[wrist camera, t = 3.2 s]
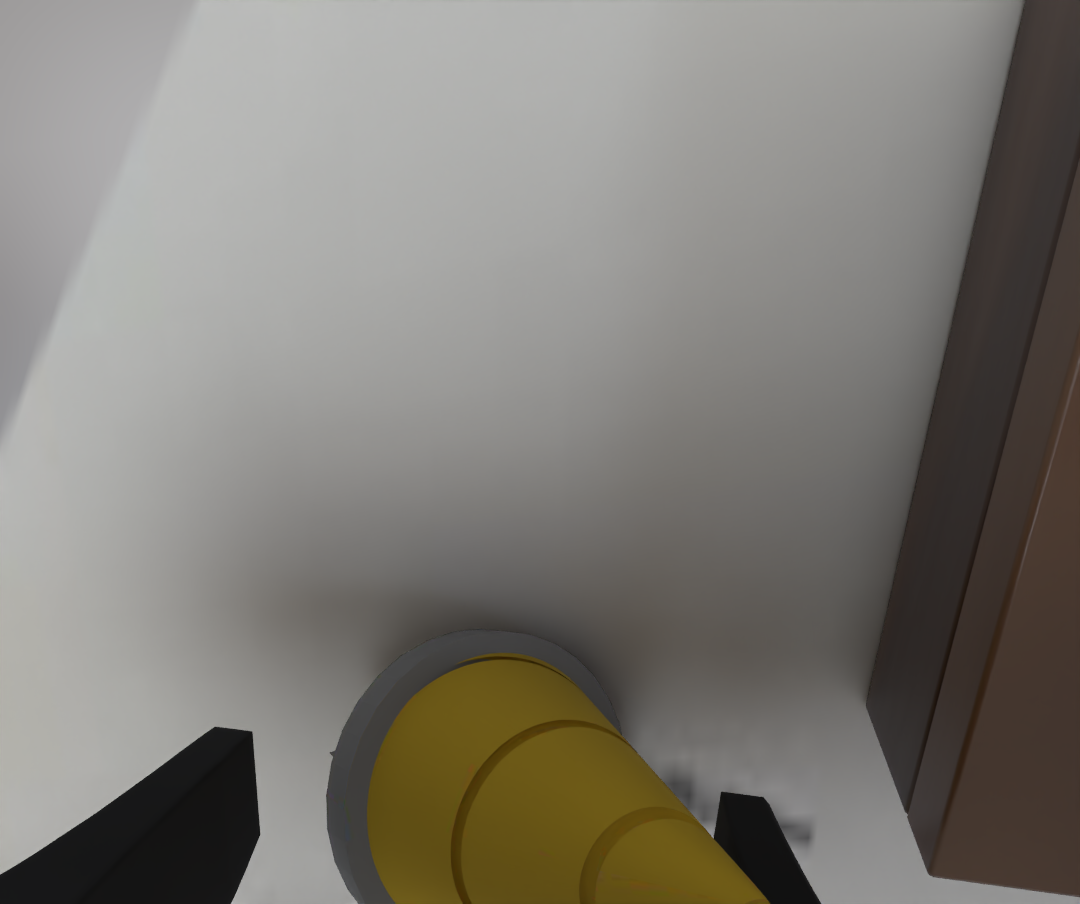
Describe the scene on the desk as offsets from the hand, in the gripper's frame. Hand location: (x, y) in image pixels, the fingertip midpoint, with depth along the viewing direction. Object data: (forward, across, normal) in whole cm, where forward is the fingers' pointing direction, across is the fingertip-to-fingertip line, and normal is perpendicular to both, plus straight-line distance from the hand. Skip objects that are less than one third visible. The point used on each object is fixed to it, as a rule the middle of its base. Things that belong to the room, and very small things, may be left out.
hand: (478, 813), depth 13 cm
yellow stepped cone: (+4, 0, 0) cm, 4 cm away
